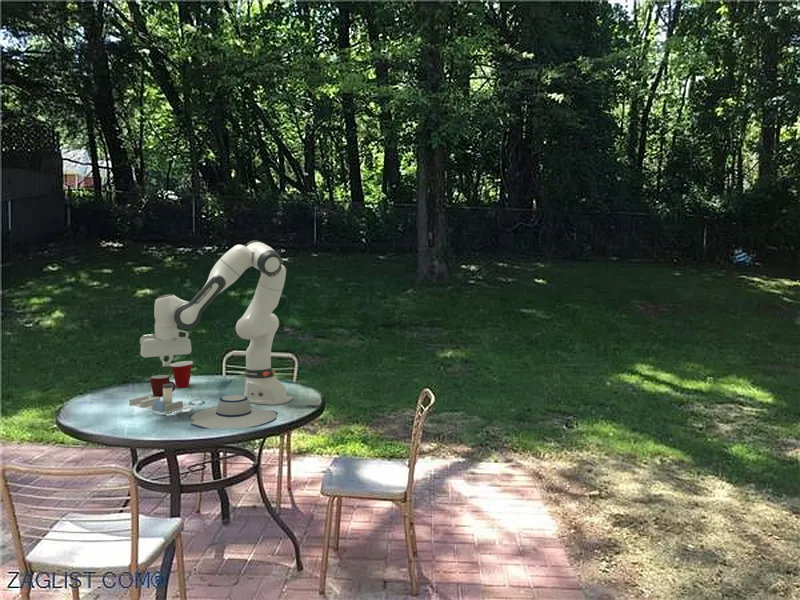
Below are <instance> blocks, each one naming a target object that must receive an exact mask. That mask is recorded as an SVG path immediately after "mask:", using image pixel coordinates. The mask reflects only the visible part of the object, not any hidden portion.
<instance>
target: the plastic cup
mask: <svg viewBox="0 0 800 600" xmlns="http://www.w3.org/2000/svg"><path fill="white" fill-rule="evenodd" d="M193 364H194V362H193V361H192V360H184V361H177V362H173V363H171V366H170V368H171V369H172V373H173V374H172V375H173V379H174V381H175V382H174V384H175V388H178V389H186V388H189V387H190V380H191V375H192V374H191V373H192V367H193Z"/></svg>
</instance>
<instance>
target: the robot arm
mask: <svg viewBox="0 0 800 600" xmlns="http://www.w3.org/2000/svg"><path fill="white" fill-rule="evenodd" d="M251 267H254V269H257V270H259V272H260V277H259V280H258V283H257V285H256V289H255V292H254V295H253V298H252V300H251V302H250V304H248V307H247V308H246V310H245V312H244V313H243V315H242V316H241V317H240V318H239V319H238V320H237V322H236V325H235V332H236V334H237V336H238V337H239V338H241V339H243V340H250V342H249V346H248V347H247V348H246V350H245V369H244V376H245V385H244V386H245V387H244V392H243V396H246V397H247V398H248V400H249V403H250V404H256V405H258V404H259V405H270V406H274V405H275V406H276V405H281V404H285V403H287V402H290V401H291V400H292V397H293V396H290V395H287V389H286V386H285V384H283V383H282V382H281V381H280V380H279V379H278V378H276V376H275V373H276V371H277V370H276V369H274V370H273V368H272V366H271V362H272V347H273V341H274V337H275V333H276V332H277V330H278V329H279V327H280V320H279V318H278V316H277V315H276V314H275V313H273V311H274V310H275V309H276V308H277V307H278V304H279V302H280V299H281V297H282V296H281V295H282V293H283V291H284V290H283V289H284V287H285V281H286V275H287V268H286V267H285V265H283V263H282V258H281V255H280V254H279V253H278V252H277V251H276V250H275V249H273V248H272V247H271V246H269V245H267V244H266V243H264V242H262V241H259V240H250V241H249V242H247V243H246V244H244V245H243V244H236V245H234V246H233V247H231V248H230V249H229V250H228V251H226V252H225V253H224V254H222V256H221V257H220V258H219V259H218V261H216V263H215V264H214V266H213V267H212V269H211V270H210V271H209V272H210V273H209V275H208V277H207V278H208V279H207V281H206V283H205V284H204V286H203V287H202V289H201V290H199V291H198V293H197V294H196V295H195V296H193V298H192V299H191V300H190V301H187V300H184V299H181V298H179V297H178V296H176V295H175V294H173V293H172V294H171V293H170V294H169V293H168V294H163V295H160V296H158V297H157V298H156V299H155V300H154V305H153V306H154V308H153V309H154V311H153V312H154V313H153V314H154V316H153V317H154V322H155V323H154V333H153V334H143V335H142V336H140V338H139V344H140V356H141V357H143V358H145V359H146V358H153V357H154V358H155V357H159V360H160V361H161V362H162V367H171V364H172V363H171V362H172V361H173V359H174V356H179V355H180V356H181V355H190V354H191V353H192V349H193V348H192V341H191V339H190V338H189V336H190V335H189V332H188V331H186V330H192V329H194V328H195V327H197V326H198V324H199V323H200V320H201V318H202V315H203V313H204V311H205V309H206V308H208V306H209V305H210V304H211V303H212V302H213V300H214V299H215V298H216V297H217V296H218V295H219V294H220V293H222V292H223V291H225V290H226V289H228V288H229V287H230V286H231V285H233V284H234V283H235V282H237V280H238V279H239V278H240V277H241V276H242V274H244V272H245V271H246V270H247V269H249V268H251ZM178 327H179V328H178ZM167 356H168V358H169V359H168V360H167V361H165V360H164V359H165V357H167Z"/></svg>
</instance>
